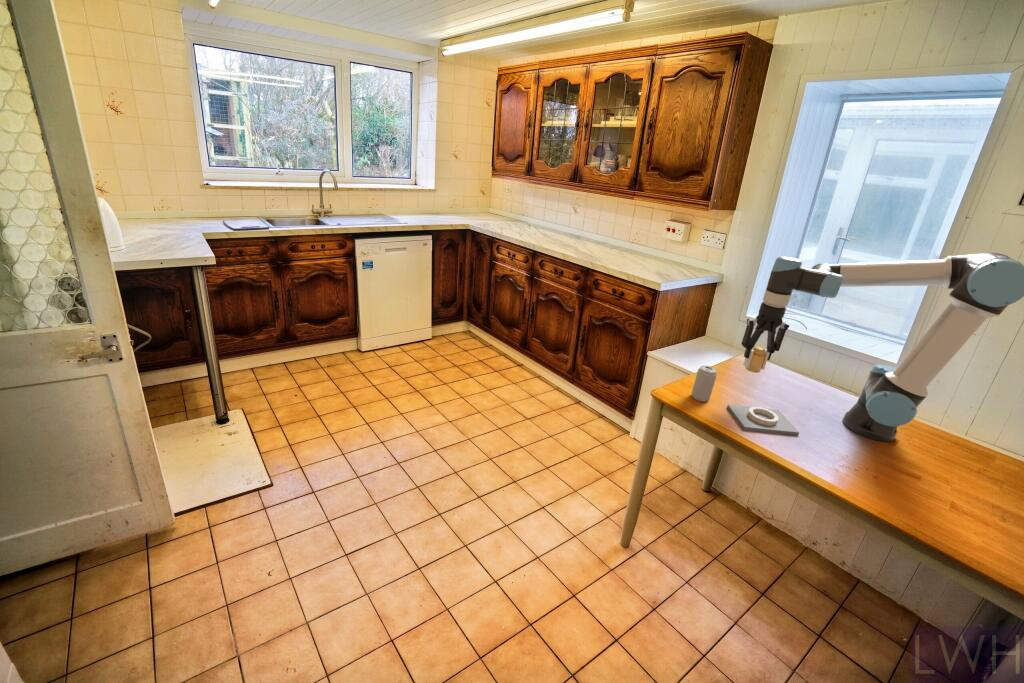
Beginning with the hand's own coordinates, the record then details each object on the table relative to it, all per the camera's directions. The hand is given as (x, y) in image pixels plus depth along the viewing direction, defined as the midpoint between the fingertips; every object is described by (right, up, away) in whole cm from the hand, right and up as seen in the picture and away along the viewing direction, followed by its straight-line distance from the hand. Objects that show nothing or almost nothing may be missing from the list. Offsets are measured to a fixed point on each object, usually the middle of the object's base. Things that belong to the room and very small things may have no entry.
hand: (753, 366), depth 166 cm
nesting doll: (0, -1, 0) cm, 1 cm away
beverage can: (-16, -12, +6) cm, 21 cm away
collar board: (0, -18, -5) cm, 19 cm away
